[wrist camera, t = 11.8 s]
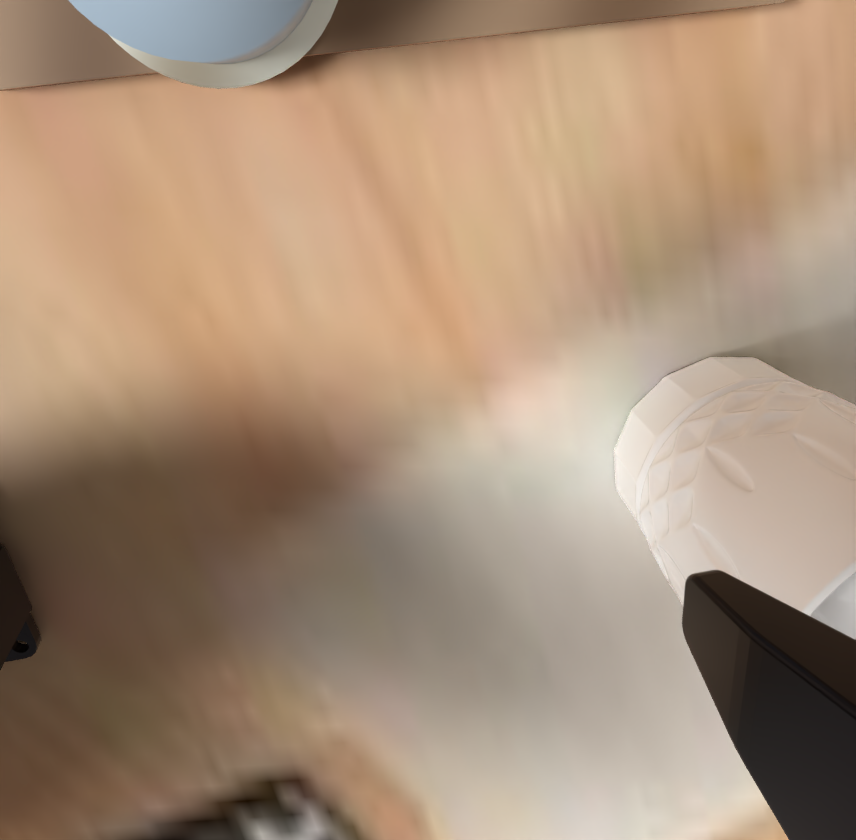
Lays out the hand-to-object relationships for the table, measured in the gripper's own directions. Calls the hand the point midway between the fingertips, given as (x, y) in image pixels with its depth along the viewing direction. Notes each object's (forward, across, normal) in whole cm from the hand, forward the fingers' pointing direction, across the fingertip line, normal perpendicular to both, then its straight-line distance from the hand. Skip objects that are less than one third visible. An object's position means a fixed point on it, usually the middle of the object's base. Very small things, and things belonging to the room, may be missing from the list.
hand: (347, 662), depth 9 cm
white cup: (+13, -12, +6) cm, 19 cm away
